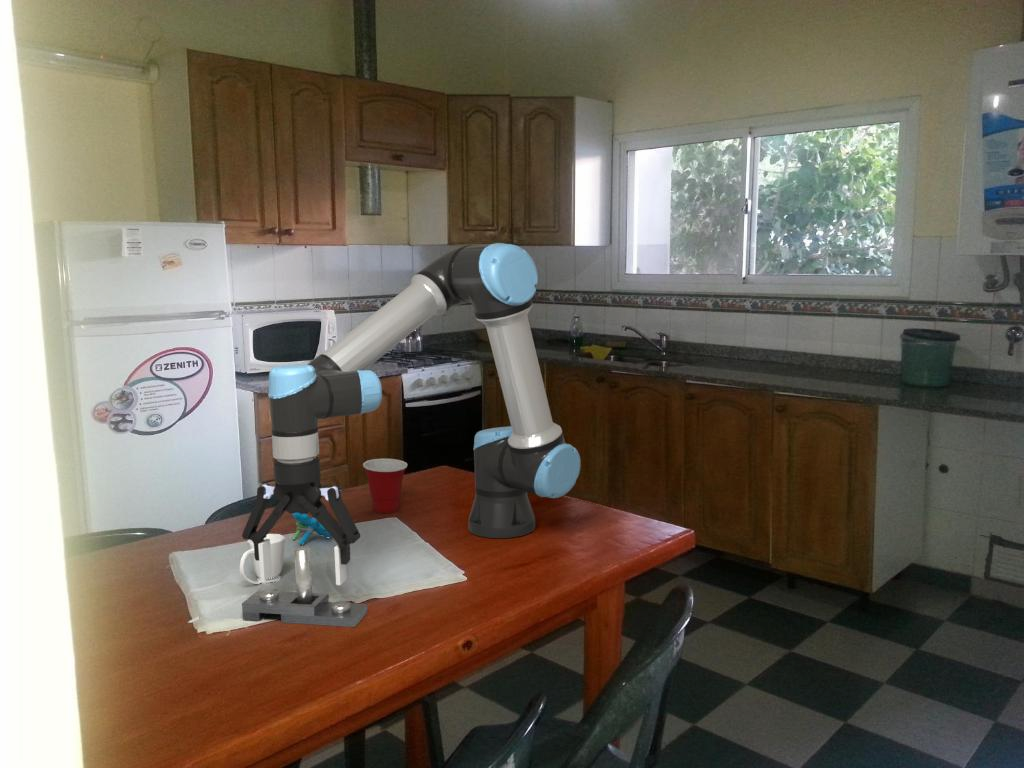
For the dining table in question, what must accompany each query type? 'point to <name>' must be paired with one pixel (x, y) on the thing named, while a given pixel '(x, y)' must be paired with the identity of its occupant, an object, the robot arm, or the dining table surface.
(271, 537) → the cup
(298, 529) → the gear
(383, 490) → the plastic cup
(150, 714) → the dining table surface
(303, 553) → the metal pin
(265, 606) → the grey bolted bracket
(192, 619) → the butter knife
